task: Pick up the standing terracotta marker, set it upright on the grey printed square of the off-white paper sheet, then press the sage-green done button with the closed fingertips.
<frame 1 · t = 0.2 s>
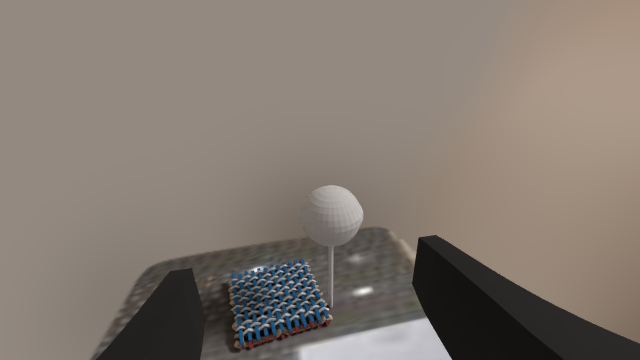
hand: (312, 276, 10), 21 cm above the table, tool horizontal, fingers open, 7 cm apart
lollipop: (330, 307, 36), on the table
woven mat: (277, 305, 37), on the table
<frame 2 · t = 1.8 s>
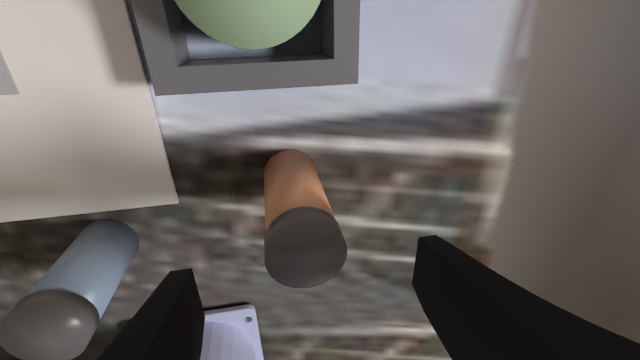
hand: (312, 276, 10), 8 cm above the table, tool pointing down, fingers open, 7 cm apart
marker slate: (110, 241, 17), on the table
marker terracotta: (289, 173, 17), on the table
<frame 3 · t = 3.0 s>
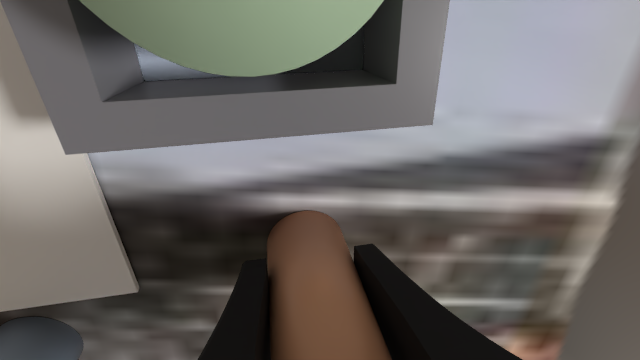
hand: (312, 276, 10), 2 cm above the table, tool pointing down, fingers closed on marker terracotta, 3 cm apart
marker slate: (39, 343, 11), on the table
marker terracotta: (305, 243, 12), on the table, touching gripper
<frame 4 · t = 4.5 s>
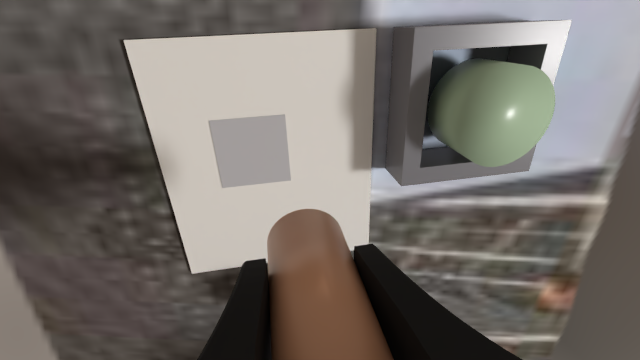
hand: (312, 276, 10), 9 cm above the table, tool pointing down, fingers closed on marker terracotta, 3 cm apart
button housing: (453, 99, 18), on the table
done button: (486, 111, 16), point 3 cm above the table, slide at 0.0 cm
marker terracotta: (305, 241, 12), point 8 cm above the table, touching gripper
paper: (272, 165, 18), on the table
when the fingers open (3 cm above the table, at t = 6.3 s): marker terracotta stays where it is, resting on paper.
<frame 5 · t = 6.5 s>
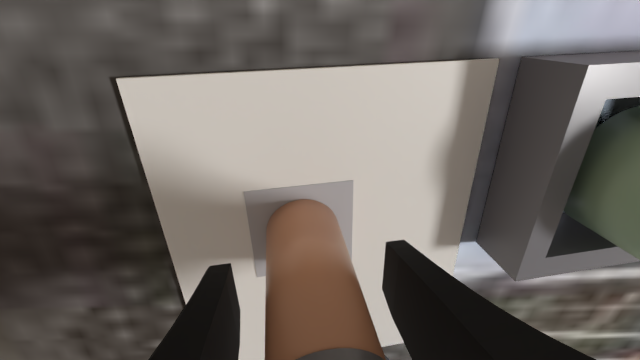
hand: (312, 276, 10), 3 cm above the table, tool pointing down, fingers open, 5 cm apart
button housing: (581, 153, 13), on the table
marker terracotta: (302, 230, 12), resting on paper
paper: (327, 244, 13), on the table
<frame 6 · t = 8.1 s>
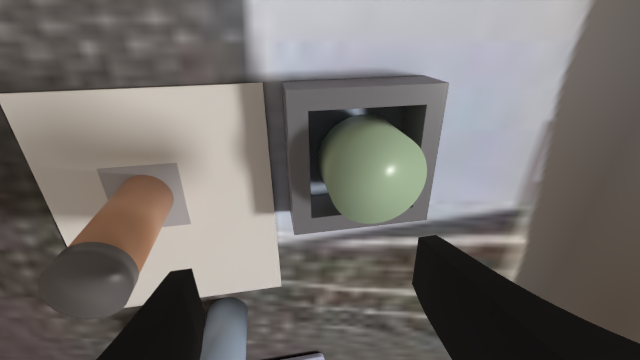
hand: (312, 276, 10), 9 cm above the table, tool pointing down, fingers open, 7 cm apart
button housing: (353, 148, 19), on the table
marker slate: (227, 311, 23), on the table
done button: (369, 168, 16), point 3 cm above the table, slide at 0.0 cm
marker terracotta: (146, 197, 18), resting on paper
paper: (170, 209, 18), on the table
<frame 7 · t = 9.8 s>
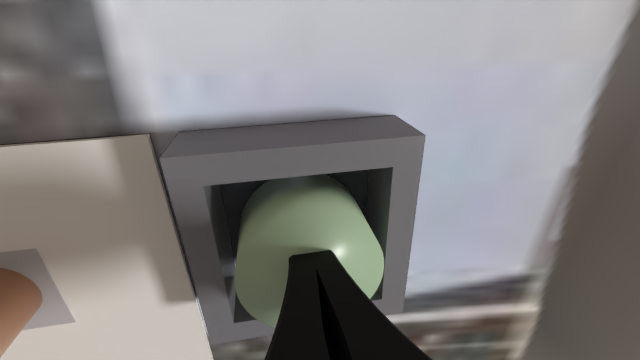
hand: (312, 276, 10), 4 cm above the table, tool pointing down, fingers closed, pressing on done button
button housing: (298, 214, 13), on the table
done button: (306, 248, 11), point 2 cm above the table, slide at 0.7 cm, touching gripper
marker terracotta: (0, 294, 12), resting on paper
paper: (43, 304, 13), on the table
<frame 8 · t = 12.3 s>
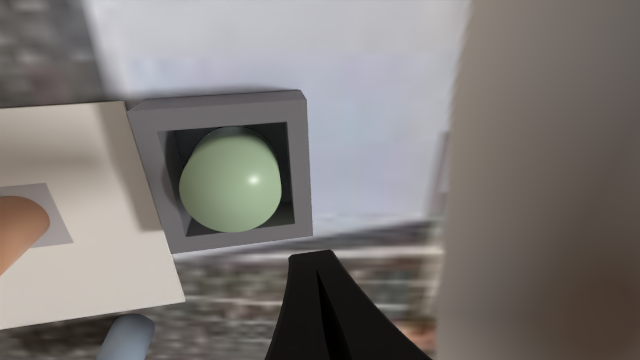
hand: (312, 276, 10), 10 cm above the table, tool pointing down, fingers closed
button housing: (236, 163, 18), on the table
marker slate: (133, 327, 22), on the table
done button: (234, 178, 17), point 2 cm above the table, slide at 1.0 cm
marker terracotta: (20, 217, 17), resting on paper
paper: (50, 228, 18), on the table
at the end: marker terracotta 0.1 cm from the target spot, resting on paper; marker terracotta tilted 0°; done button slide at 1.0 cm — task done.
